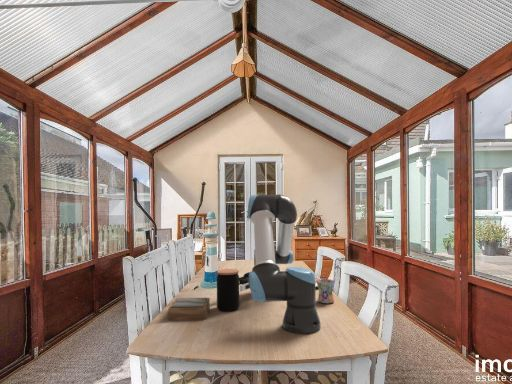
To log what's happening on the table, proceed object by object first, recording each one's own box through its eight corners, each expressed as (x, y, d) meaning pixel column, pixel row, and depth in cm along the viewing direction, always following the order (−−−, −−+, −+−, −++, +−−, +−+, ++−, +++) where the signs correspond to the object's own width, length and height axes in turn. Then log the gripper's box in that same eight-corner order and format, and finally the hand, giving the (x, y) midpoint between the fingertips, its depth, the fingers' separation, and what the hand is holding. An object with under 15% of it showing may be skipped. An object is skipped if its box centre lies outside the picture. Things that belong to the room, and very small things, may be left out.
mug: (337, 304, 162) (337, 282, 163) (319, 305, 161) (318, 283, 162) (330, 297, 174) (329, 277, 175) (313, 298, 173) (312, 278, 174)
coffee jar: (243, 307, 159) (243, 269, 160) (230, 313, 150) (230, 273, 151) (226, 304, 165) (225, 268, 165) (212, 309, 156) (212, 271, 156)
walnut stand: (205, 319, 142) (205, 306, 142) (168, 320, 142) (168, 307, 142) (209, 308, 158) (209, 297, 158) (176, 309, 158) (176, 297, 158)
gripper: (272, 288, 171) (251, 298, 153) (233, 283, 184) (209, 291, 166) (272, 273, 171) (251, 281, 153) (232, 269, 184) (209, 276, 166)
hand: (229, 286), depth 159 cm, fingers open, 13 cm apart
